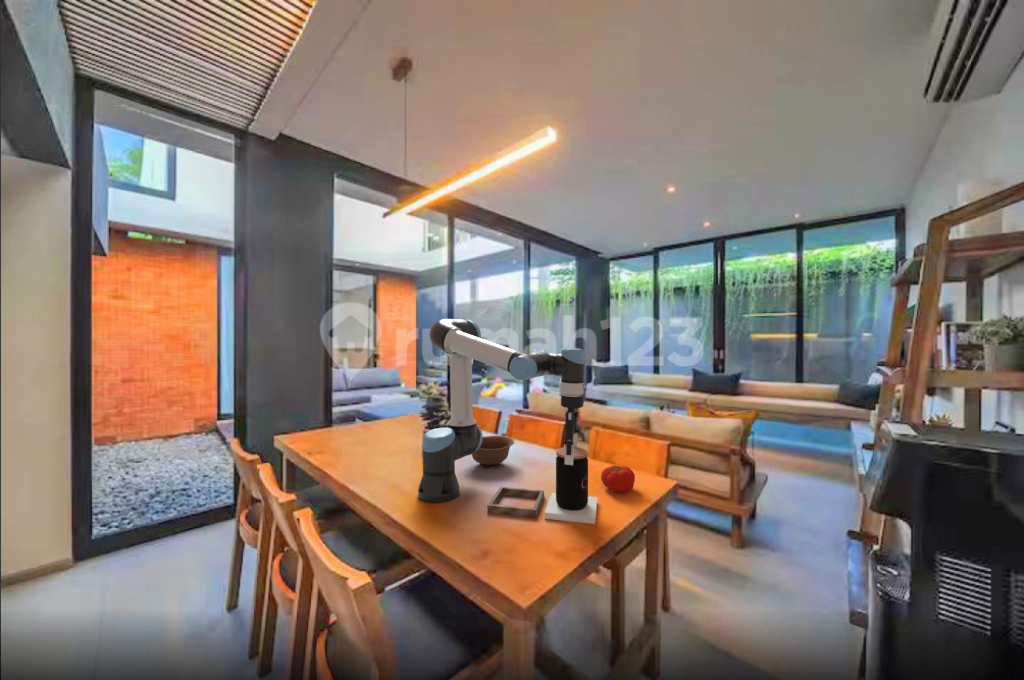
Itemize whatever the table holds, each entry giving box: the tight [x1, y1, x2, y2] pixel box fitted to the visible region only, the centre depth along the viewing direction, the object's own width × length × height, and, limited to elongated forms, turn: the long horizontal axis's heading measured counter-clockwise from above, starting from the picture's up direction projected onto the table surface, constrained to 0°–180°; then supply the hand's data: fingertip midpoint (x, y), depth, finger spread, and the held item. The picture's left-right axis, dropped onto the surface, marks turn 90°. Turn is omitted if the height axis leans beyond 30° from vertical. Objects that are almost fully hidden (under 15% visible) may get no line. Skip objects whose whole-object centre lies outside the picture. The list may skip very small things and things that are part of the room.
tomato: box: [600, 465, 636, 494], centre depth 155 cm, size 14×13×9 cm
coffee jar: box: [555, 446, 589, 511], centre depth 138 cm, size 11×11×18 cm
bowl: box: [471, 435, 515, 469], centre depth 184 cm, size 22×22×11 cm
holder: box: [486, 485, 545, 519], centre depth 143 cm, size 16×16×2 cm
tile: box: [544, 492, 598, 525], centre depth 139 cm, size 16×16×2 cm
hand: (571, 457), depth 138 cm, fingers open, 13 cm apart
